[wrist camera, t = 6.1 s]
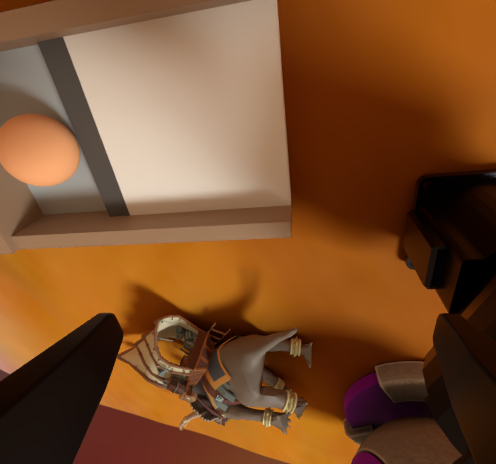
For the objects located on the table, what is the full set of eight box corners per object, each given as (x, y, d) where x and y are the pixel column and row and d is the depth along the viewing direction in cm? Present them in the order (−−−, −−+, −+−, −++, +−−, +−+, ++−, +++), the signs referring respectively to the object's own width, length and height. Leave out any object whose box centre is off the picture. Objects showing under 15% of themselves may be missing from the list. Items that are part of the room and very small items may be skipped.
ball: (-42, 125, 15) (7, 116, 18) (2, 202, 16) (39, 180, 20) (42, 111, 15) (75, 105, 18) (76, 188, 16) (99, 169, 20)
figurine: (261, 476, 30) (96, 427, 30) (268, 411, 35) (126, 369, 34) (350, 375, 18) (77, 293, 18) (342, 299, 23) (127, 234, 23)
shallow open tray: (275, -28, 14) (268, -51, 10) (291, 208, 20) (291, 242, 16) (-57, 41, 17) (-143, 40, 14) (43, 224, 23) (0, 254, 20)
